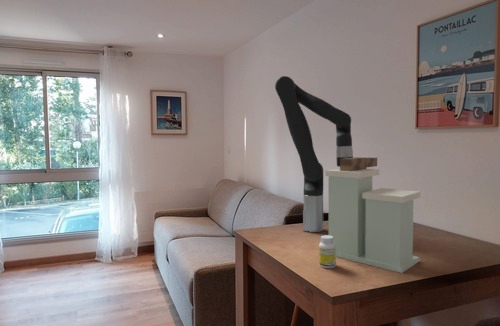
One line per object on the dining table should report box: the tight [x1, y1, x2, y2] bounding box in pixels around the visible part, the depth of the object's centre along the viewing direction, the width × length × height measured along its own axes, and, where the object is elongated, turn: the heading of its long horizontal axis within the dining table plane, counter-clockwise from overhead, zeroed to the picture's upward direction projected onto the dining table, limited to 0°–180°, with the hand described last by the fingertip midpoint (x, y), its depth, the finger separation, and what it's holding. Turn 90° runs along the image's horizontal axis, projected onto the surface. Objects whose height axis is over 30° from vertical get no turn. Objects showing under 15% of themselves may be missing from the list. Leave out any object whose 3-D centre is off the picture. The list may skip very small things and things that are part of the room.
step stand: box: [324, 168, 421, 274], centre depth 131 cm, size 15×29×32 cm, turn 45°
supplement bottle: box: [318, 234, 337, 269], centre depth 124 cm, size 6×6×10 cm
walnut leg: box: [339, 156, 378, 171], centre depth 139 cm, size 22×4×4 cm, turn 135°
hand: (346, 190), depth 169 cm, fingers open, 8 cm apart
